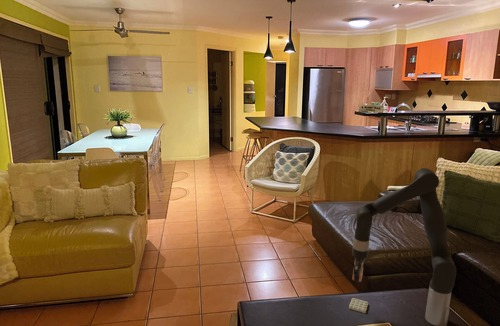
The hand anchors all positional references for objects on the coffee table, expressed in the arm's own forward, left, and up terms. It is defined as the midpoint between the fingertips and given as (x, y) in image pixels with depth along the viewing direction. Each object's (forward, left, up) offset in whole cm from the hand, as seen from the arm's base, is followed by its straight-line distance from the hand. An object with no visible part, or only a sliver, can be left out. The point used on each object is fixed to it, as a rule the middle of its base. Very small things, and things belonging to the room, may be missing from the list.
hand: (357, 278), depth 178 cm
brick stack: (0, 0, 0) cm, 0 cm away
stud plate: (-2, -1, -16) cm, 16 cm away
